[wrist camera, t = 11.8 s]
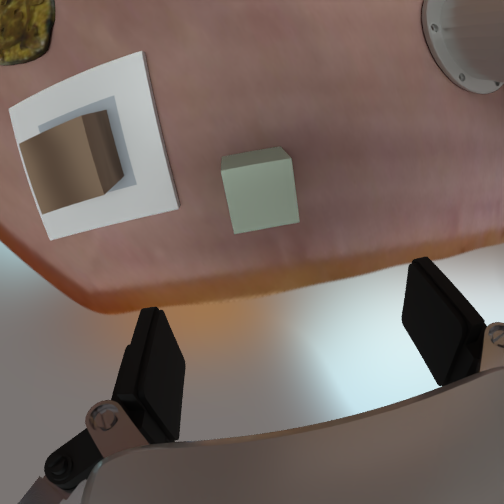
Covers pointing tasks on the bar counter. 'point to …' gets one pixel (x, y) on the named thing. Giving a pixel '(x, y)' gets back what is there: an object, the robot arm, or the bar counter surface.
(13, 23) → the olive brown ornament
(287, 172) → the sage cube
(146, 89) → the board
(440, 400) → the robot arm
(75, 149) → the walnut block
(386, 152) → the bar counter surface
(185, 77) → the bar counter surface
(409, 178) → the bar counter surface
